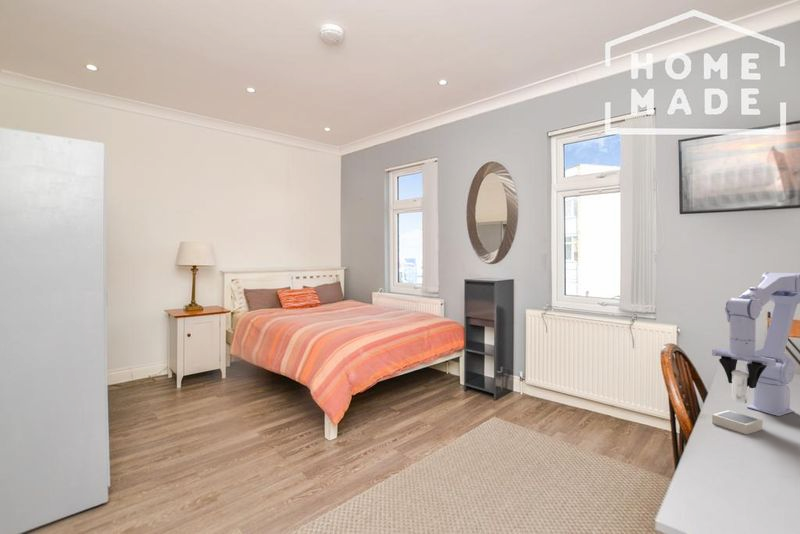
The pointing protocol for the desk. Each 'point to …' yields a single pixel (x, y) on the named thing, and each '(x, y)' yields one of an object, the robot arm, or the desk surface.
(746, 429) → the plinth
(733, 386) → the milkshake
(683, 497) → the desk surface
